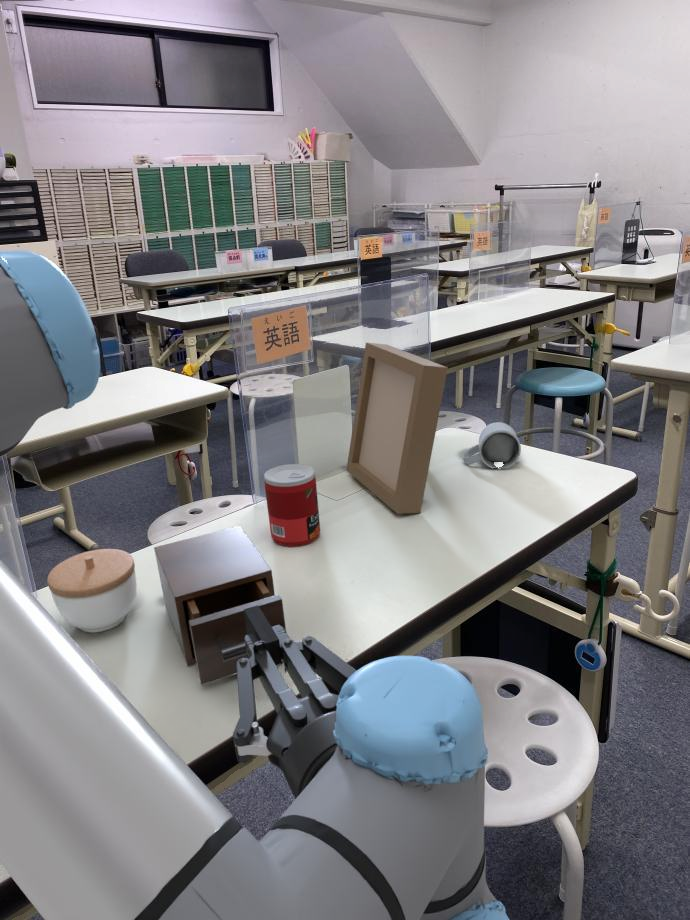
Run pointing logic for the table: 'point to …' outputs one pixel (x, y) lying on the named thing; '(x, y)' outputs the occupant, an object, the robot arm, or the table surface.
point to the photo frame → (395, 425)
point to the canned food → (292, 504)
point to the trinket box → (94, 588)
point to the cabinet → (206, 573)
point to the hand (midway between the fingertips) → (252, 618)
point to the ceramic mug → (495, 446)
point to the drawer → (226, 626)
